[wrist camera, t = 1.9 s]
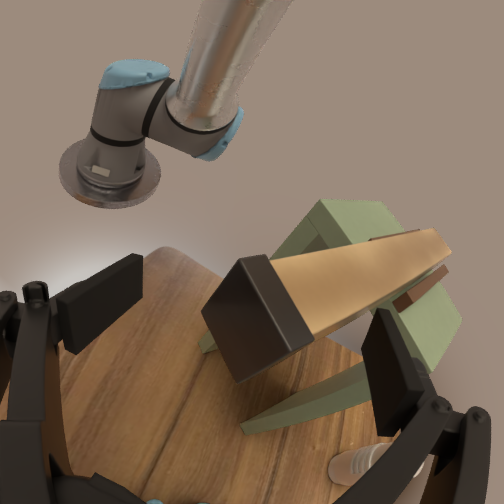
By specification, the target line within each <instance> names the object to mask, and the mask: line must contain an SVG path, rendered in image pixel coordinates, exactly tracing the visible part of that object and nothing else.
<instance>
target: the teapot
mask: <svg viewBox="0 0 504 504" xmlns="http://www.w3.org/2000/svg"><path fill="white" fill-rule="evenodd" d="M147 504H163V503H162V502H161V501H160V500H157V499H152V500H149V501H148V502H147ZM198 504H209V503H198Z"/></svg>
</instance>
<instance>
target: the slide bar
mask: <svg viewBox="0 0 504 504" xmlns="http://www.w3.org/2000/svg"><path fill="white" fill-rule="evenodd" d="M451 253H452V252H451V251H450V249H449V248H448V246H447V245H446V243H445V242H444V241H443V239H442V238H441V236H440V235H439V234H438V232H437V231H436V229H435V228H431V229H426V230H421V231H416V232H412V233H407V234H402V235H397V236H392V237H387V238H382V239H377V240H372V241H367V242H362V243H357V244H352V245H347V246H342V247H337V248H332V249H327V250H322V251H317V252H311V253H306V254H301V255H296V256H291V257H285V258H280V259H275V260H270V261H269V259H268V257H267V256H266V255H265V254H263V255H256V256H251V257H245V258H240V259H238V260H237V262H236V263H235V265H234V266H233V267H232V269H231V270H230V271H229V273H228V274H227V276H226V277H225V278H224V280H223V281H222V282H221V284H220V285H219V286H218V288H217V289H216V291H215V292H214V293H213V295H212V296H211V297H210V299H209V300H208V302H207V303H206V304H205V306H204V307H203V309H202V310H201V313H202V315H203V318H204V320H205V322H206V324H207V326H208V328H209V330H210V332H211V335H212V337H213V339H214V341H215V343H216V345H217V347H218V349H219V351H220V353H221V355H222V357H223V359H224V361H225V363H226V365H227V367H228V369H229V371H230V373H231V375H232V377H233V379H234V380H235V382H236V384H240V383H242V382H245V381H247V380H249V379H251V378H253V377H255V376H258V375H260V374H261V373H263V372H265V371H267V370H268V369H270V368H272V367H273V366H275V365H277V364H278V363H280V362H282V361H283V360H285V359H287V358H288V357H290V356H292V355H293V354H295V353H296V352H298V351H300V350H301V349H303V348H304V347H306V346H308V345H310V344H312V343H314V342H316V341H317V340H319V339H321V338H323V337H325V336H327V335H329V334H330V333H332V332H334V331H336V330H338V329H339V328H341V327H343V326H345V325H346V324H348V323H350V322H352V321H353V320H355V319H357V318H359V317H360V316H362V315H364V314H365V313H367V312H369V311H370V310H372V309H374V308H375V307H377V306H378V305H380V304H382V303H383V302H385V301H387V300H388V299H390V298H391V297H393V296H394V295H396V294H397V293H399V292H401V291H402V290H404V289H405V288H407V287H408V286H410V285H411V284H413V283H414V282H416V281H417V280H419V279H420V278H421V277H423V276H424V275H426V274H427V273H428V272H430V271H431V270H432V269H433V268H435V267H436V266H437V265H438V264H439V263H441V262H442V261H443V260H444V259H445V258H446V257H448V256H449V255H450V254H451Z"/></svg>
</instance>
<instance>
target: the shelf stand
mask: <svg viewBox="0 0 504 504" xmlns="http://www.w3.org/2000/svg"><path fill="white" fill-rule="evenodd" d="M416 231H420V229H418V230H412V231H407V232H405V230H404V229H403V228H402V226H401V225H400V224H399V223H398V221H397V220H396V219H395V217H394V216H393V215H392V213H391V212H390V211H389V209H388V208H387V207H386V206H385V204H384V203H383V202H379V201H378V202H377V201H358V200H333V199H320V200H319V201H318V202H317V203H316V204H315V206H314V207H313V208H312V209H311V210H310V212H309V213H308V214H307V216H305V217H304V219H303V220H302V221H301V222H300V223H299V225H298V226H297V227H296V228H295V229H294V231H293V232H292V233H291V234H290V235H289V236H288V238H287V239H286V240H285V241H284V242H283V244H282V245H281V246H280V247H279V248H278V250H277V251H276V252H275V253H274V254H273V255H272V257H271V258H270V259H269V261H270V260H275V259H280V258H285V257H291V256H296V255H301V254H306V253H311V252H317V251H322V250H327V249H332V248H337V247H342V246H347V245H352V244H357V243H362V242H367V241H372V240H377V239H382V238H387V237H392V236H397V235H402V234H407V233H412V232H416ZM447 273H448V270H447V268H446V266H445V265H442V266H441V267H439V268H438V269H437V270H435V271H434V272H433V270H431V271H430V272H428V273H427V274H426V275H424V276H423V277H421V278H420V279H419V280H417V281H416V282H414V283H413V284H411V285H410V286H408V287H407V288H405V289H404V290H402V291H401V292H399V293H397V294H396V295H394V296H393V297H391V298H390V299H388V300H387V301H385V302H383V303H382V304H380V305H378V306H377V307H375V308H374V309H372V310H370V312H371V314H372V315H373V317H374V314H375V311H376V309H377V308H383V309H388V310H390V312H391V314H392V316H393V318H394V320H395V323H396V325H397V327H398V329H399V331H400V333H401V335H402V338H403V340H404V342H405V344H406V346H407V349H408V351H409V353H410V355H411V357H415V358H418V359H419V360H420V361H421V362H422V363H423V364H424V366H425V368H426V370H427V373H428V374H430V373H432V372H433V370H434V369H435V367H436V365H437V364H438V362H439V361H440V359H441V357H442V356H443V354H444V352H445V351H446V349H447V347H448V345H449V344H450V342H451V340H452V339H453V337H454V335H455V333H456V331H457V329H458V328H459V326H460V324H461V322H462V318H461V316H460V315H459V313H458V311H457V309H456V308H455V306H454V304H453V303H452V301H451V299H450V297H449V296H448V294H447V292H446V291H445V289H444V288H443V286H442V284H441V283H440V280H441V279H442V278H443V277H444V276H445V275H446V274H447ZM198 344H199V346H200V348H201V350H202V353H203V354H204V353H207V352H210V351H213V350H216V349H218V347H217V345H216V343H215V341H214V339H213V337H212V335H211V332H210V330H208V331H207V332H206V333H205V335H204V336H203V337H202V338H201V339H200V340H199V341H198ZM369 400H371V394H370V389H369V384H368V379H367V374H366V369H365V364H364V361H362V362H360V363H358V364H356V365H354V366H353V367H351V368H349V369H347V370H345V371H343V372H341V373H339V374H336V375H334V376H332V377H330V378H328V379H326V380H324V381H322V382H319V383H317V384H315V385H313V386H311V387H308V388H306V389H304V390H301V391H299V392H297V393H295V394H293V395H292V396H290V397H288V398H287V399H285V400H283V401H281V402H280V403H278V404H276V405H274V406H273V407H271V408H269V409H267V410H265V411H264V412H262V413H260V414H258V415H256V416H254V417H252V418H251V419H249V420H247V421H245V422H243V423H241V424H239V425H240V426H241V428H242V430H243V432H244V434H245V435H251V434H256V433H261V432H265V431H270V430H274V429H278V428H283V427H287V426H291V425H295V424H298V423H302V422H306V421H309V420H313V419H316V418H319V417H323V416H326V415H329V414H332V413H335V412H338V411H341V410H344V409H347V408H350V407H353V406H356V405H358V404H361V403H364V402H367V401H369Z"/></svg>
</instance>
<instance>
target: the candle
mask: <svg viewBox="0 0 504 504" xmlns="http://www.w3.org/2000/svg"><path fill="white" fill-rule="evenodd" d="M392 443H393V442H390V443H379V444H375V445H371V446H367V447H362V448H359V449H357V450H348V451H345V452H343V453H342V454H338V455H336V456H335V457H333V459H332V460H331V461H330V463H329V467H328V474H329V477H330V479H331V480H332V481H333V482H334V483H336V484H342V485H345V486H350V485H354V484H355V483H356V482H357V481H358V480H359V479H360V478H361V477H362V476H363V475H364V474H365V473H366V472H367V471H368V470H369V469H370V468H371V467H372V466H373V465H374V463H375V462H376V461H377V460H378V459H379V458H380V457H381V456H382V455H383V454H384V453H385V451H386V450H387V449H388V448H389V447H390V446H391V445H392ZM423 464H424V462H423ZM423 464H422V465H421V467H420V468H419V469H418V471H417V472H416V474H415V475H414V477H415V476H417V475H418V474H419V473H420V471H421V469H422V467H423Z"/></svg>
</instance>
